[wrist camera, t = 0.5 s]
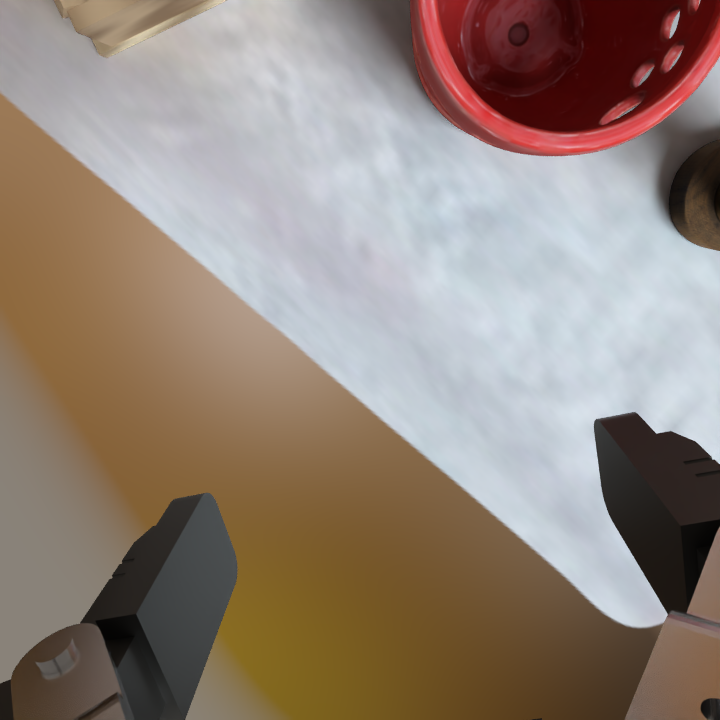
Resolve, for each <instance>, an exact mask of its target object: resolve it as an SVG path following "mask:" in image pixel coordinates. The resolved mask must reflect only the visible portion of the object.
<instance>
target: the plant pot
mask: <svg viewBox="0 0 720 720" xmlns="http://www.w3.org/2000/svg"><path fill="white" fill-rule="evenodd" d="M699 1H700V0H410V16H411V30H412V43H413V52H414V59H415V64H416V68H417V71H418V74H419V78H420V80H421V83H422V85H423V88H424V89H425V91H426V93H427V95H428V97H429V98H430V100H431V101H432V103H433V104H434V106H435V107H436V108H437V109H438V111H439V112H440V113H441V114H442V115H443V116H444V117H445V118H446V119H448V120H449V121H450V122H451V123H452V124H454V125H455V126H456V127H458V128H459V129H461V130H463V131H464V132H466V133H468V134H470V135H472V136H474V137H475V138H477V139H479V140H481V141H483V142H485V143H487V144H489V145H492V146H494V147H497V148H500V149H503V150H507V151H510V152H515V153H520V154H528V155H537V156H568V155H580V154H587V153H593V152H598V151H601V150H605V149H609V148H612V147H615V146H617V145H620V144H622V143H624V142H627V141H629V140H631V139H633V138H635V137H637V136H639V135H641V134H643V133H645V132H646V131H648V130H649V129H651V128H653V127H654V126H656V125H657V124H659V123H660V122H661V121H663V120H664V119H665V118H667V117H668V116H669V115H670V114H672V113H673V112H674V111H675V110H676V109H677V108H678V107H679V106H681V105H682V104H683V103H684V102H685V101H686V100H687V99H688V98H689V97H690V95H691V94H692V93H693V92H694V91H695V90H696V89H697V88H698V87H699V85H700V84H701V83H702V81H703V80H704V79H705V78H706V76H707V75H708V73H709V72H710V70H711V69H712V68H713V67H714V65H715V64H716V62H717V60H718V58H719V57H720V0H701V1H700V4H699ZM679 11H680V17H679V21H678V25H677V28H676V31H675V33H674V35H673V36H672V37H671V38H670V39H669V35H670V30H671V26H672V23H673V21H674V19H675V17H676V15H677V14H678V12H679ZM681 51H682V53H681ZM680 53H681V55H680V57H679V59H678V61H677V63H676V64H675V65H674V66H673V67H672V69H671V70H670V68H671V66H672V64H673V62H674V61H675V59H676V58H677V56H678V55H679V54H680ZM652 67H654V68H653V70H652V72H651V73H650V75H649V77H648V78H647V79H646V80H645V81H644V82H643V83H642V84H641V85H639V83H640V81H641V80H642V78H643V77H644V76H645V74H646V73H647V72H648V71H649V70H650V69H651V68H652ZM638 85H639V86H638ZM638 104H639V105H638ZM636 105H638V106H637V107H635V108H634V109H633V110H632V111H630V112H629V113H627V114H625V115H623V116H621V117H620V118H618V119H616V118H617V117H618V116H620V115H621V114H623V113H624V112H626V111H627V110H629V109H631V108H633V107H634V106H636Z"/></svg>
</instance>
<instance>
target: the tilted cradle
mask: <svg viewBox="0 0 720 720" xmlns="http://www.w3.org/2000/svg"><path fill="white" fill-rule="evenodd" d="M225 1H227V0H54V2H55V4H56V6H57V8H58V10H59V12H60V14H61V16H62V18H67V17H70V20H71V22H72V24H73V26H74V28H75V30H76V32H78V33H80V34H82V35H85V36H87V37H90V38H92V40H93V43H94V45H95V47H96V49H97V51H98V53H99V55H101V56H103V57H106V58H108V57H110V56H112V55H114V54H117V53H119V52H121V51H123V50H125V49H127V48H129V47H131V46H133V45H135V44H137V43H139V42H142V41H144V40H146V39H148V38H150V37H152V36H154V35H156V34H158V33H160V32H162V31H164V30H167V29H169V28H171V27H173V26H175V25H177V24H179V23H181V22H183V21H185V20H187V19H189V18H192V17H194V16H196V15H198V14H200V13H202V12H204V11H206V10H208V9H210V8H212V7H214V6H217V5H219V4H221V3H223V2H225Z"/></svg>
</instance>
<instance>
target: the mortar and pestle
mask: <svg viewBox="0 0 720 720" xmlns="http://www.w3.org/2000/svg"><path fill="white" fill-rule="evenodd" d="M669 206H670V213H671V217H672V220H673V222H674V224H675V226H676V228H677V229H678V231H679V232H680V233H681V234H682V235H683V236H684V237H685V238H686V239H687V240H689V241H690V242H692V243H694V244H696V245H698V246H701V247H704V248H708V249H713V250H718V251H720V140H717V141H714V142H712V143H709V144H707V145H705V146H703V147H702V148H700V149H699V150H697V151H696V152H695V153H693V154H692V155H691V156H690V157H689V158H688V159H687V160H686V161H685V162H684V163H683V165H682V166H681V167H680V169H679V171H678V172H677V174H676V176H675V178H674V181H673V184H672V187H671V191H670V200H669Z"/></svg>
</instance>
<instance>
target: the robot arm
mask: <svg viewBox="0 0 720 720" xmlns="http://www.w3.org/2000/svg"><path fill="white" fill-rule="evenodd" d="M594 433H595V441H596V449H597V456H598V464H599V472H600V479H601V487H602V493H603V497H604V501H605V504H606V507H607V510H608V513H609V515H610V517H611V519H612V521H613V523H614V525H615V526H616V528H617V530H618V531H619V533H620V535H621V536H622V538H623V540H624V541H625V543H626V545H627V546H628V548H629V550H630V551H631V553H632V555H633V556H634V558H635V560H636V561H637V563H638V565H639V566H640V568H641V570H642V572H643V573H644V575H645V577H646V578H647V580H648V582H649V583H650V585H651V587H652V588H653V590H654V592H655V593H656V595H657V597H658V598H659V600H660V602H661V603H662V605H663V607H664V608H665V610H666V612H667V613H668V616H667V618H666V620H665V622H664V624H663V627H662V629H661V632H660V634H659V637H658V639H657V642H656V644H655V647H654V649H653V652H652V654H651V656H650V659H649V661H648V664H647V667H646V669H645V671H644V674H643V676H642V679H641V681H640V683H639V686H638V689H637V691H636V693H635V696H634V698H633V701H632V703H631V706H630V708H629V710H628V713H627V715H626V718H625V720H720V464H719V463H718V462H716V461H715V460H712V457H711V456H710V455H709V454H708V453H707V452H706V451H705V450H704V449H703V448H702V447H701V446H700V445H699V444H698V443H696V442H695V441H693V440H690V439H688V438H686V437H683V436H681V435H679V434H676V433H674V432H672V431H669V432H664V433H658V434H656V433H655V432H654V431H653V430H652V429H651V428H650V427H649V425H648V424H647V423H646V422H645V421H644V420H643V419H642V418H641V417H640V416H639V415H638V414H637V413H635V412H632V413H627V414H622V415H616V416H611V417H606V418H601V419H596V420H595V422H594ZM112 577H113V578H112V579H109V581H108V582H107V584H106V585H105V587H104V588H103V590H102V591H101V593H100V594H99V596H98V597H97V599H96V600H95V602H94V603H93V605H92V606H91V608H90V609H89V611H88V612H87V614H86V615H85V617H84V618H83V620H82V621H81V622H80V624H76V625H72V626H69V627H66V628H64V629H61V630H59V631H57V632H55V633H53V634H51V635H50V636H48V637H46V638H45V639H43V640H42V641H40V642H39V643H38V644H36V645H35V646H34V647H33V648H32V649H31V650H29V651H28V653H26V654H25V655H24V657H23V658H22V659H21V660H20V661H19V663H18V664H17V666H16V667H15V669H14V671H13V673H12V677H11V680H8V681H5V682H3V683H1V684H0V720H185V718H186V715H187V713H188V710H189V708H190V705H191V702H192V699H193V697H194V694H195V691H196V688H197V686H198V683H199V681H200V678H201V675H202V672H203V670H204V667H205V664H206V662H207V659H208V656H209V654H210V651H211V648H212V645H213V643H214V640H215V637H216V635H217V632H218V629H219V626H220V624H221V621H222V618H223V616H224V613H225V610H226V608H227V605H228V602H229V600H230V597H231V594H232V591H233V589H234V586H235V583H236V579H237V560H236V555H235V551H234V549H233V546H232V543H231V541H230V538H229V535H228V532H227V530H226V527H225V524H224V522H223V519H222V517H221V514H220V511H219V508H218V506H217V503H216V501H215V499H214V497H213V496H212V495H211V494H210V493H203V494H198V495H193V496H188V497H183V498H177V499H174V500H173V501H172V502H171V503H170V505H169V506H168V508H167V509H166V511H165V513H164V514H163V516H162V517H161V519H160V520H159V522H158V523H157V525H156V526H153V527H152V528H150V529H149V530H148V531H147V532H146V533H145V534H144V535H143V536H141V537H140V538H139V539H138V540H137V541H136V542H134V544H133V545H132V547H131V548H130V550H129V551H128V552H127V554H126V556H125V557H124V558H123V560H122V564H120V565H119V566H118V568H117V569H116V570H115V572H114V573H113V575H112ZM533 720H542V718H541V719H533Z"/></svg>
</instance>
